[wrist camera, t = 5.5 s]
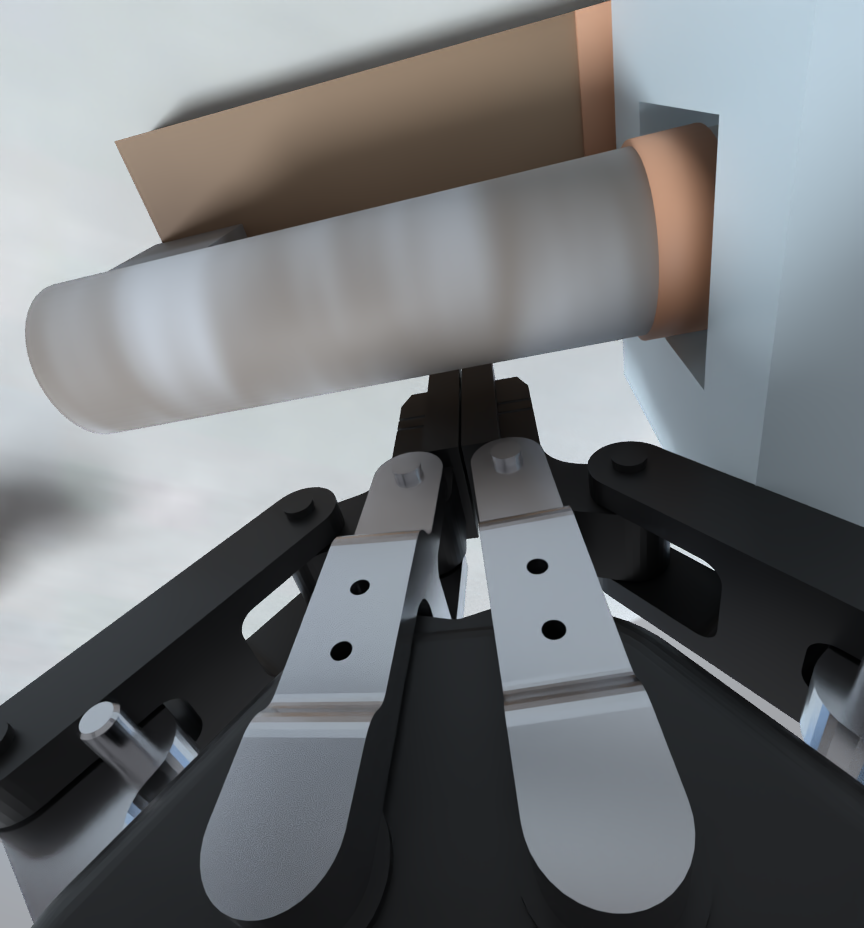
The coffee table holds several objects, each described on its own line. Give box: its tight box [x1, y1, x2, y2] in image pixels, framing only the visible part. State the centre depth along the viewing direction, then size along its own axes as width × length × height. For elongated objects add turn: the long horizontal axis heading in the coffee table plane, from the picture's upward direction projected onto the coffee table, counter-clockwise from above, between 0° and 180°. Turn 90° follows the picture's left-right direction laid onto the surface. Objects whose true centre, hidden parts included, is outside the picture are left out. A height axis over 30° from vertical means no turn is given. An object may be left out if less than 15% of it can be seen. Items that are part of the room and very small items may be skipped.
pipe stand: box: [25, 0, 719, 434], centre depth 12 cm, size 7×16×8 cm, turn 103°
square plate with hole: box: [611, 0, 864, 527], centre depth 9 cm, size 9×2×8 cm, turn 13°
